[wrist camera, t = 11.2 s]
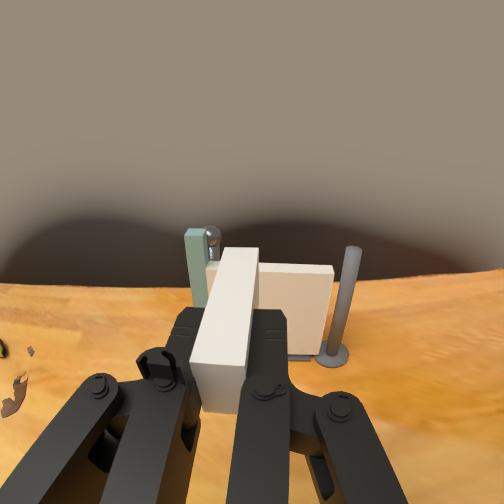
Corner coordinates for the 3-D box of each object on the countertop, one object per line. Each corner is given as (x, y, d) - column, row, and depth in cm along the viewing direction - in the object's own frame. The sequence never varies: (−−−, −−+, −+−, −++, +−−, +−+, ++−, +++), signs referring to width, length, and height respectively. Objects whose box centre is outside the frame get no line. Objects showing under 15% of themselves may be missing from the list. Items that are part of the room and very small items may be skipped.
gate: (336, 347, 39) (361, 234, 30) (338, 356, 37) (365, 242, 29) (203, 341, 40) (188, 228, 32) (201, 350, 38) (184, 235, 30)
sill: (345, 341, 40) (345, 339, 40) (350, 367, 36) (351, 365, 36) (212, 338, 41) (212, 336, 41) (206, 363, 37) (205, 362, 37)
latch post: (235, 329, 43) (231, 219, 35) (232, 350, 39) (225, 235, 31) (207, 327, 44) (195, 219, 35) (201, 347, 40) (185, 234, 31)
